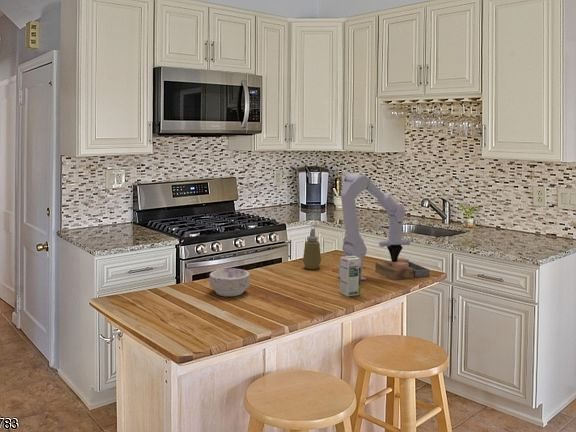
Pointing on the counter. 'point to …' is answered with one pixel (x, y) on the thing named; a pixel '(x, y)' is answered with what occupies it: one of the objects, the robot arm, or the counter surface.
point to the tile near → (400, 265)
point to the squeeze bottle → (312, 252)
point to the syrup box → (350, 276)
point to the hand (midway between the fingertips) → (394, 261)
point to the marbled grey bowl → (229, 281)
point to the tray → (419, 270)
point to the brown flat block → (393, 271)
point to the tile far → (403, 260)
